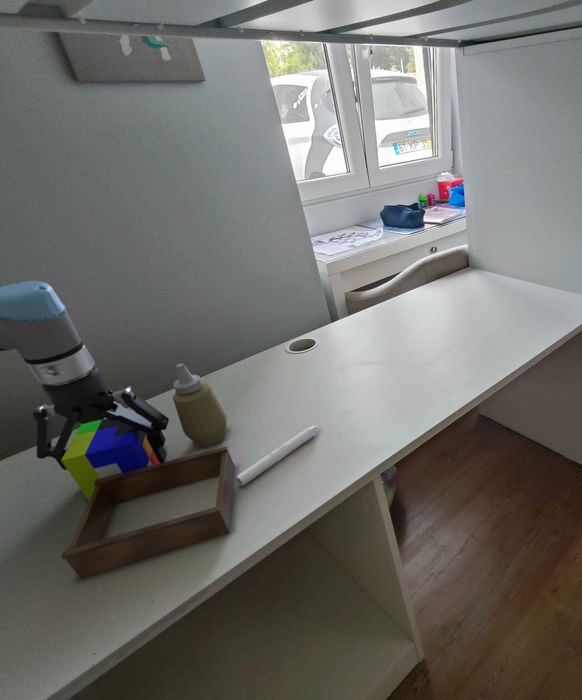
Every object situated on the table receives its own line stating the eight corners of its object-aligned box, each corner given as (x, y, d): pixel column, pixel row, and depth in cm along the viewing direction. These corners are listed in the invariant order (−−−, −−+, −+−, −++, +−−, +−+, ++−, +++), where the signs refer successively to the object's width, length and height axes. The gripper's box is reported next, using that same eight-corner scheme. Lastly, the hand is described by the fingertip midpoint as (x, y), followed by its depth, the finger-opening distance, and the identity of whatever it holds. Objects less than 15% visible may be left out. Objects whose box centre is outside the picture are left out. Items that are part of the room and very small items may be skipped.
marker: (316, 428, 94) (314, 419, 93) (323, 431, 93) (320, 423, 92) (237, 483, 82) (234, 473, 80) (244, 487, 81) (240, 478, 79)
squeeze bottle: (180, 447, 91) (144, 374, 81) (208, 422, 97) (178, 352, 88) (213, 453, 89) (180, 379, 80) (240, 427, 95) (212, 356, 86)
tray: (79, 579, 66) (61, 556, 64) (109, 501, 79) (95, 479, 76) (230, 532, 72) (219, 510, 70) (236, 467, 85) (227, 445, 82)
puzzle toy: (153, 483, 82) (130, 443, 77) (89, 501, 79) (61, 460, 74) (162, 449, 90) (142, 410, 85) (105, 463, 87) (80, 424, 82)
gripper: (-38, 406, 66) (37, 503, 77) (148, 368, 74) (193, 462, 85) (-13, 380, 73) (54, 473, 83) (157, 348, 80) (198, 438, 91)
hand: (124, 468), depth 84 cm, fingers open, 12 cm apart
